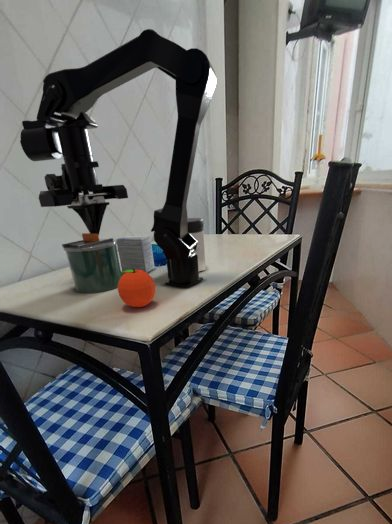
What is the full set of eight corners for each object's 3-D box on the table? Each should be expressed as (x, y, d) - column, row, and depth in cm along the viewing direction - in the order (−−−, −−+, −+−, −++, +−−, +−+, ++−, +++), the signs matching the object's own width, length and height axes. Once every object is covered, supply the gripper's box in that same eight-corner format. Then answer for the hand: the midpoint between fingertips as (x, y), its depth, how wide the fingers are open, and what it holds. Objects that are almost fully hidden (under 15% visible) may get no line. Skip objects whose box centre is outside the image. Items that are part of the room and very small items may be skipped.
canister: (134, 281, 75) (126, 237, 70) (95, 296, 67) (83, 247, 62) (103, 276, 82) (94, 235, 77) (64, 289, 74) (51, 244, 69)
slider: (100, 243, 69) (98, 233, 68) (80, 247, 66) (78, 237, 65) (87, 242, 72) (85, 232, 71) (67, 246, 68) (65, 236, 67)
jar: (183, 275, 76) (179, 223, 71) (167, 270, 83) (162, 221, 77) (213, 268, 81) (211, 218, 75) (195, 263, 87) (192, 217, 81)
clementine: (109, 312, 58) (101, 274, 55) (126, 299, 64) (120, 264, 60) (149, 313, 56) (143, 274, 52) (163, 300, 62) (158, 264, 58)
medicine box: (155, 269, 84) (150, 235, 80) (146, 273, 81) (141, 238, 77) (131, 268, 87) (125, 235, 83) (121, 272, 84) (115, 238, 80)
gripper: (91, 160, 74) (105, 230, 81) (13, 161, 61) (38, 243, 69) (123, 155, 68) (135, 231, 75) (43, 155, 55) (67, 246, 62)
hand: (95, 237), depth 71 cm, fingers closed
